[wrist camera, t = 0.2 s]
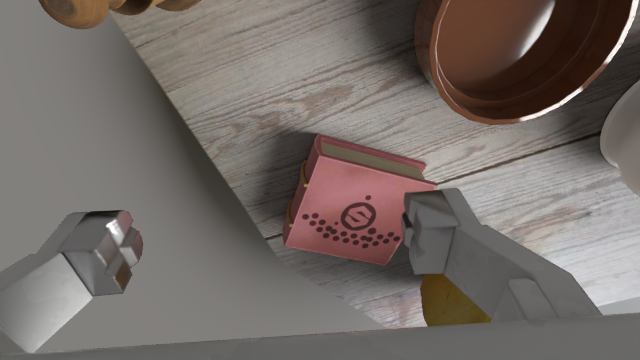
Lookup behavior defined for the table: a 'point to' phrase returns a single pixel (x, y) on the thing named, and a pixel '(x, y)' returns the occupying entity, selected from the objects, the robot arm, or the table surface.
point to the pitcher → (448, 303)
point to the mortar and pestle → (104, 9)
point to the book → (351, 201)
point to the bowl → (516, 52)
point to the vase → (624, 137)
